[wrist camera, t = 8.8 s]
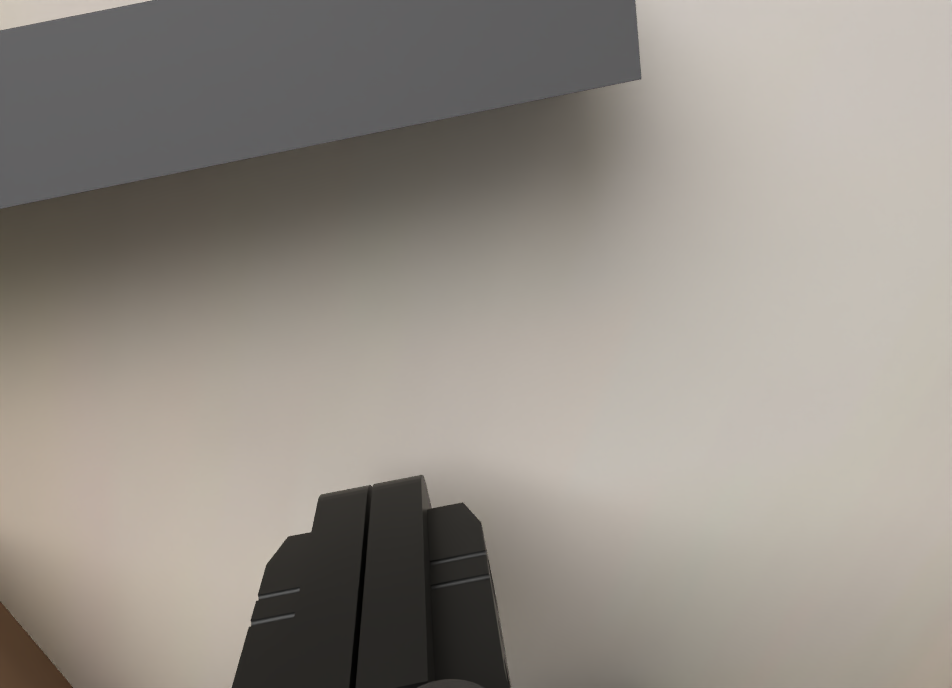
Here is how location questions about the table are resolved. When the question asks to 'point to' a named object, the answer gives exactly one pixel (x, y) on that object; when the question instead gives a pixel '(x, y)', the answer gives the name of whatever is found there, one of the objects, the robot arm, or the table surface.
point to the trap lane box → (277, 78)
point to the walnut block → (24, 659)
